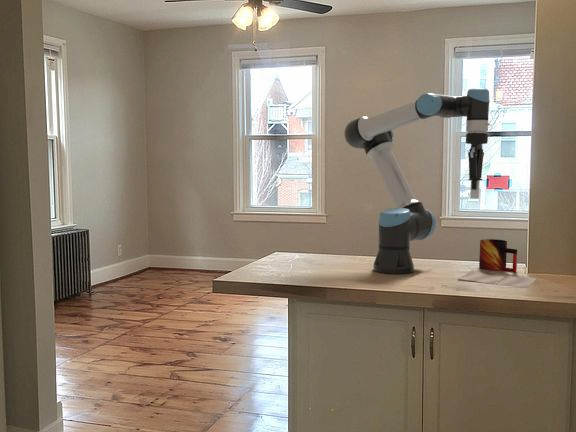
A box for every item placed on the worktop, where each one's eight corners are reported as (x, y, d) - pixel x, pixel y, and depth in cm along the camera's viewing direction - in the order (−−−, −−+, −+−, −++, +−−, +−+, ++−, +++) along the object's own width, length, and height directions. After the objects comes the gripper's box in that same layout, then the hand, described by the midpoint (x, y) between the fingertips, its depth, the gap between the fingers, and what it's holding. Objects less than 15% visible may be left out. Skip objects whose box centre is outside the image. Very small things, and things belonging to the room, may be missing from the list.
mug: (516, 276, 221) (517, 244, 220) (476, 273, 227) (478, 241, 226) (519, 272, 229) (520, 240, 228) (481, 269, 236) (482, 238, 235)
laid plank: (495, 287, 200) (495, 284, 200) (506, 278, 215) (506, 275, 215) (527, 291, 195) (527, 287, 195) (536, 281, 210) (537, 278, 210)
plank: (457, 282, 206) (458, 278, 206) (471, 273, 222) (472, 270, 222) (494, 287, 200) (494, 284, 200) (505, 278, 216) (506, 275, 215)
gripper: (483, 131, 209) (480, 200, 212) (492, 133, 220) (489, 198, 223) (461, 132, 213) (459, 199, 215) (471, 133, 224) (469, 197, 226)
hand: (474, 198), depth 219 cm, fingers closed
